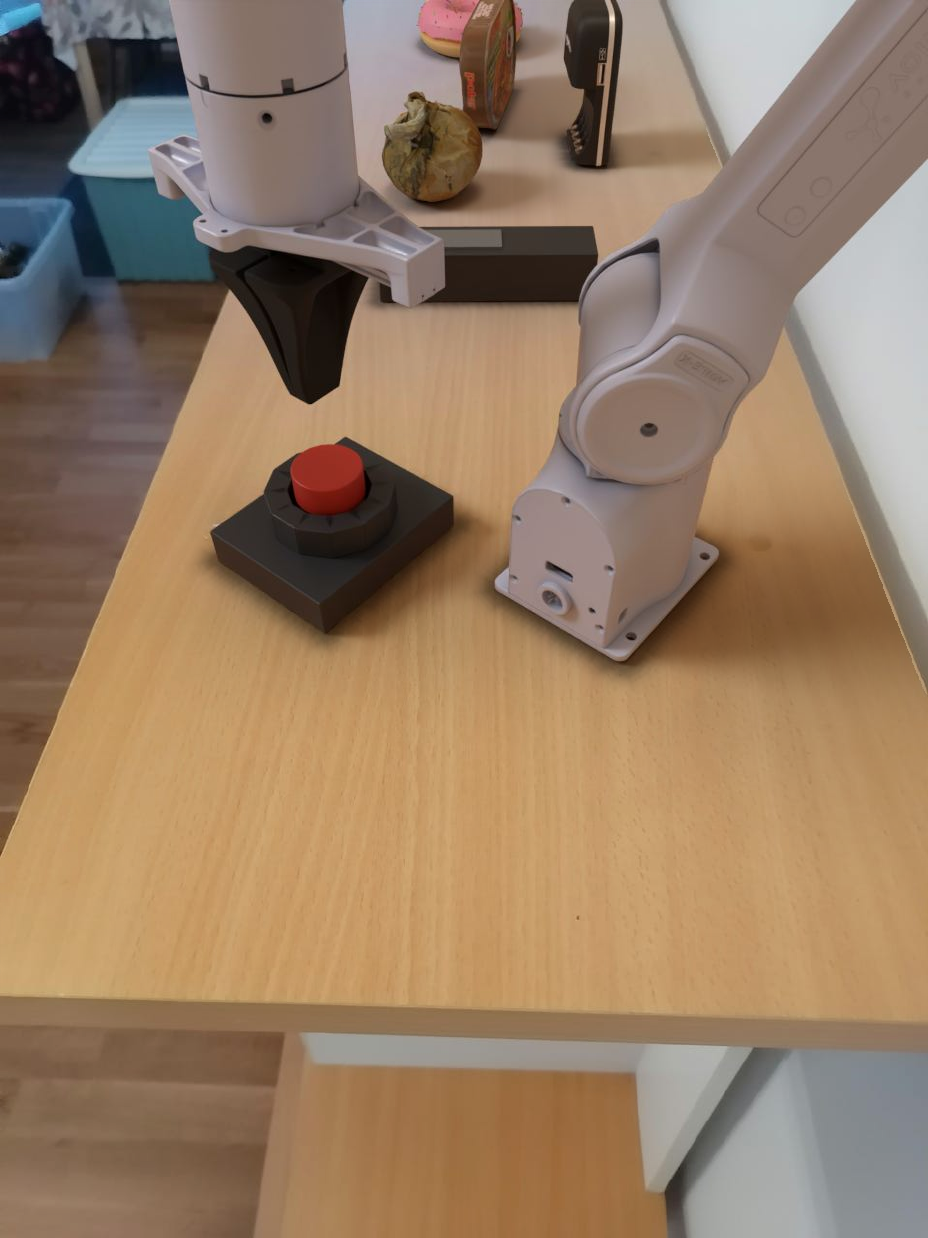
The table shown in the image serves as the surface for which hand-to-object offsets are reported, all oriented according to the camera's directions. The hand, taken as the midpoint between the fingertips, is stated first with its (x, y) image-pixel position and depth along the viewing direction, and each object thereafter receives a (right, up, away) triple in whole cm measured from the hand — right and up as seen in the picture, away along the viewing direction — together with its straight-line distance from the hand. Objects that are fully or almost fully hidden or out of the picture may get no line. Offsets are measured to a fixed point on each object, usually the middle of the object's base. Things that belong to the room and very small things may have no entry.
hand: (315, 389), depth 44 cm
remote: (+8, +13, +24) cm, 29 cm away
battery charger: (+17, +30, +39) cm, 52 cm away
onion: (+4, +24, +34) cm, 42 cm away
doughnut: (+7, +50, +56) cm, 75 cm away
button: (0, -4, +5) cm, 6 cm away
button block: (0, -6, +7) cm, 10 cm away
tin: (+9, +37, +45) cm, 59 cm away
